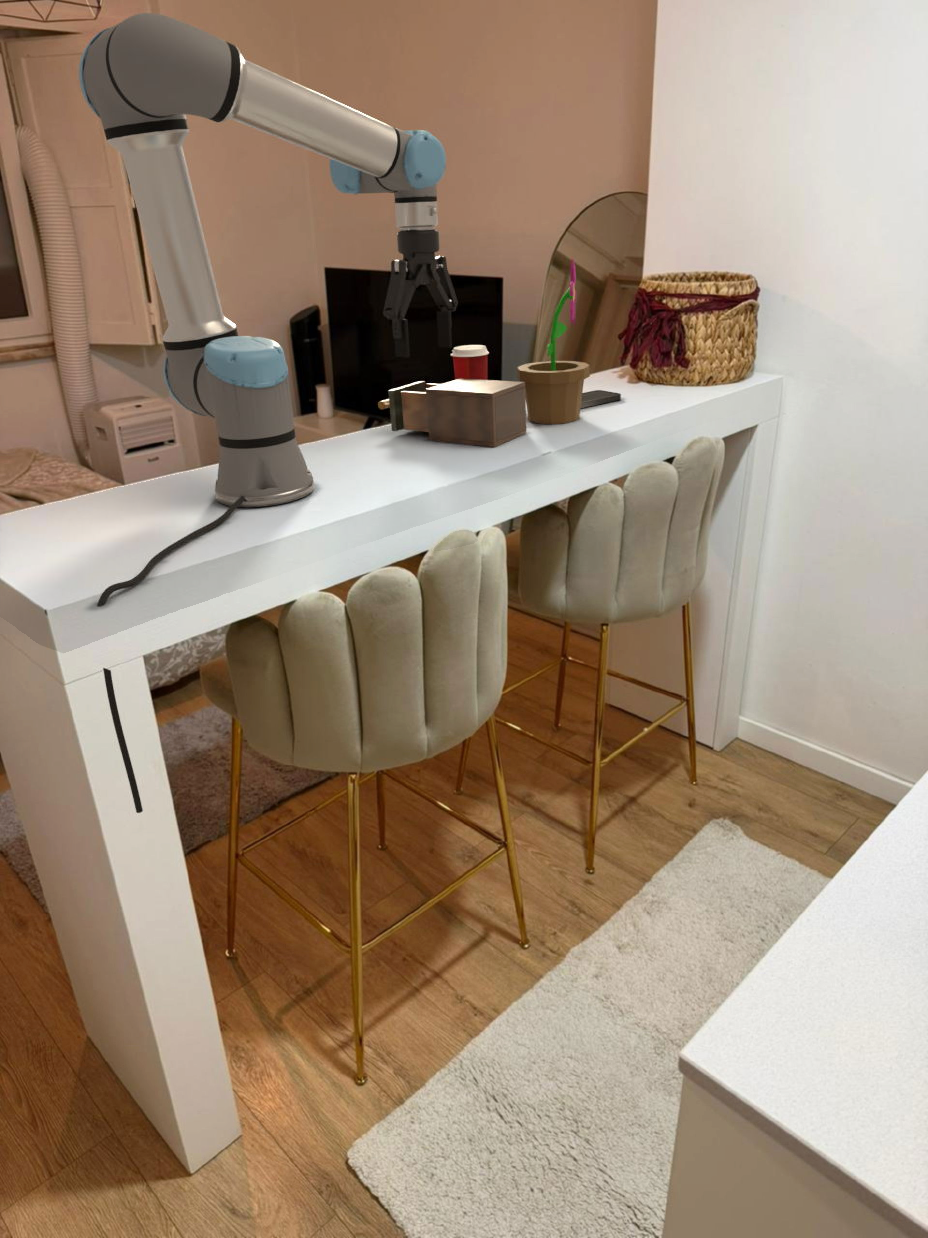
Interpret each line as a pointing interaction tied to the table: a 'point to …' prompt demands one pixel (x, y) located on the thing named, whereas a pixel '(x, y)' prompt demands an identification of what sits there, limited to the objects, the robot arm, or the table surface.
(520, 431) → the cabinet
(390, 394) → the drawer
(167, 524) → the table surface
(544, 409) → the flowerpot
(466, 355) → the paper cup
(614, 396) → the phone
